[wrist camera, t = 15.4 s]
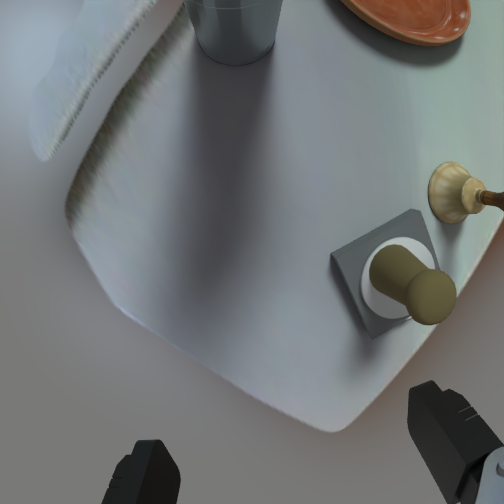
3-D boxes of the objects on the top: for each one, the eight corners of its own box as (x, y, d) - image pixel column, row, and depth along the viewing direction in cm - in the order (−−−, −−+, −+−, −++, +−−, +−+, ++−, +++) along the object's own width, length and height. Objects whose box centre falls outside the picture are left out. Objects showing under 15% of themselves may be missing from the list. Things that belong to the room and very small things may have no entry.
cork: (384, 304, 36) (426, 347, 26) (359, 265, 35) (400, 300, 24) (421, 273, 35) (473, 306, 25) (399, 233, 34) (452, 256, 24)
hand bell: (477, 172, 36) (560, 177, 21) (467, 229, 38) (547, 255, 22) (433, 154, 36) (517, 149, 20) (422, 216, 38) (503, 239, 22)
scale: (330, 253, 38) (338, 260, 35) (411, 208, 37) (424, 211, 34) (366, 332, 41) (375, 344, 37) (438, 289, 40) (451, 297, 36)
